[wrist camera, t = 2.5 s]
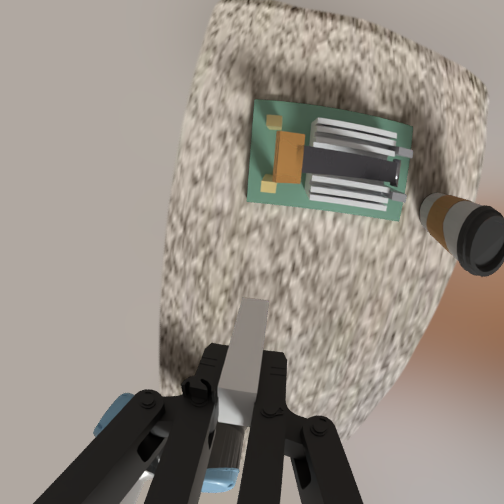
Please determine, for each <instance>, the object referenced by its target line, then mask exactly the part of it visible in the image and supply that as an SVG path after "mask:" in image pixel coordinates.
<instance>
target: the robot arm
mask: <svg viewBox="0 0 504 504" xmlns="http://www.w3.org/2000/svg"><path fill="white" fill-rule="evenodd" d="M268 306H269V300H261V299H254V298H246V297H243V298H242V301H241V305H240V308H239V312H238V316H237V319H236V323H235V326H234V330H233V334H232V337H231V341H230V344H229V346H227V345H221V344H215V343H211V344H210V345H209V346H208V347H207V348H206V349H205V350H204V353H203V356H202V358H201V361H200V364H199V366H198V369H197V372H196V374H195V376H192V377H189V378H187V379H186V380H184V382H183V383H182V384H181V386H182V392H183V394H182V395H179V396H171V397H162V396H161V394H159V393H158V392H157V391H154V390H142V391H139V392H138V393H137V394H135V395H133V394H131V393H124V394H122V395H120V396H119V397H118V398H117V399H116V400H115V401H114V403H113V404H112V405H111V406H110V407H109V409H108V410H107V411H106V413H105V414H104V415H103V417H102V418H101V420H100V422H99V423H98V425H97V426H96V428H95V429H94V432H93V434H94V436H95V437H96V438H95V439H94V440H93V441H92V442H91V443H90V444H89V445H88V446H87V448H85V449H84V451H83V452H82V453H81V454H80V455H79V456H78V457H77V458H76V459H75V460H74V461H73V462H72V463H71V464H70V465H69V466H68V467H67V469H66V470H65V471H64V472H63V473H62V474H61V475H60V476H59V477H58V478H57V479H56V480H55V481H54V483H52V484H51V485H50V486H49V488H48V489H47V490H46V491H45V492H44V493H43V494H42V495H41V496H40V497H39V498H38V499H37V500H36V501H35V502H34V503H33V504H135V503H136V501H137V498H138V496H139V493H140V491H141V489H142V487H143V484H144V482H145V481H147V480H149V479H153V480H152V483H151V485H150V488H149V491H148V494H147V497H146V499H145V502H144V504H198V501H199V497H200V494H201V492H208V493H210V492H211V493H217V492H224V491H228V490H230V489H232V488H233V487H234V485H235V483H236V480H237V476H238V473H239V465H240V459H241V453H242V446H243V440H244V433H245V430H246V429H247V427H250V432H249V438H248V443H247V450H246V456H245V462H244V468H243V473H242V479H241V484H240V491H239V495H238V501H237V504H280V496H281V485H282V473H283V460H284V455H286V456H289V457H290V458H291V462H292V466H293V470H294V474H295V479H296V482H297V487H298V491H299V495H300V499H301V503H302V504H363V502H362V499H361V496H360V493H359V490H358V487H357V485H356V482H355V479H354V476H353V474H352V471H351V468H350V466H349V463H348V460H347V457H346V454H345V452H344V449H343V446H342V444H341V441H340V438H339V435H338V433H337V430H336V427H335V425H334V424H333V422H332V421H331V420H330V419H328V418H327V417H324V416H313V417H310V418H308V419H307V418H304V417H301V416H298V415H296V414H294V413H293V412H291V411H290V410H289V409H288V407H287V405H286V401H285V398H286V375H287V359H286V357H285V355H284V353H283V352H275V351H266V350H263V346H264V338H265V330H266V322H267V314H268Z"/></svg>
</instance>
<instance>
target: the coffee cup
mask: <svg viewBox="0 0 504 504" xmlns="http://www.w3.org/2000/svg"><path fill="white" fill-rule="evenodd" d="M420 220H421V223H422V225H423V227H424V228H425V229H426V230H427V231H428V232H429V233H430V235H431V236H433V237H434V238H435V239H436V240H437V241H438V242H439V243H440V244H441V245H442V246H443V247H444V248H445V249H446V250H447V251H448V252H449V253H450V254H451V255H453V256H454V257H455V258H456V259H457V260H458V261H459V263H460V265H461V266H462V267H463V268H464V269H465V270H466V271H468V272H469V273H471V274H473V275H479V276H482V277H483V276H489V275H491V274H493V273H494V272H496V271H497V270H498V269H499V268H500V267H501V265H502V264H503V262H504V218H503V216H502V215H501V213H499V212H498V211H496V210H495V209H493V208H492V207H491V206H482V205H479V204H476V203H473V202H471V201H469V200H466V199H462V198H459V197H455V196H452V195H446V194H442V193H433V194H431V195H429V196H428V197H427V198H426V199H425V200H424V201H423V203H422V205H421V208H420Z"/></svg>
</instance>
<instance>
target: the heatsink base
mask: <svg viewBox="0 0 504 504" xmlns="http://www.w3.org/2000/svg"><path fill="white" fill-rule="evenodd" d="M277 131H285V132H292V133H299V134H305V143H304V146H311V147H318V148H324V149H331V150H337V151H343V152H348V153H354V154H359V155H364V156H369V157H374V158H378V159H383V160H387V161H392V162H393V159H398V160H401V167H400V174H399V181H398V187H394V186H391V185H390V182H384V181H377V180H369V179H362V178H353V177H344V176H335V175H324V174H313V173H301V182H300V184H294V183H275V182H272V178H273V167H274V156H275V144H276V132H277ZM412 133H413V126H409V125H406V124H403V123H399V122H395V121H391V120H388V119H384V118H380V117H375V116H371V115H367V114H362V113H357V112H352V111H347V110H342V109H336V108H330V107H324V106H317V105H310V104H302V103H294V102H284V101H273V100H259V99H255V100H254V112H253V125H252V138H251V151H250V164H249V177H248V191H247V202H255V203H265V204H274V205H284V206H292V207H301V208H309V209H317V210H325V211H333V212H340V213H347V214H354V215H361V216H367V217H374V218H380V219H386V220H392V221H398V222H399V220H400V215H401V210H402V205H403V202H404V203H405V202H406V197H407V195H406V194H405V188H406V182H407V175H408V168H409V161H410V158H412V157H413V150H411V143H412Z"/></svg>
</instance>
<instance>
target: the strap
mask: <svg viewBox="0 0 504 504" xmlns="http://www.w3.org/2000/svg"><path fill="white" fill-rule="evenodd" d="M304 143H305V134H299V133H292V132H285V131H277V132H276V144H275V156H274V167H273V178H272V182H275V183H294V184H300V182H301V173H313V174H324V175H335V176H344V177H353V178H362V179H369V180H377V181H384V182H390V185H391V186H394V187H398V181H399V174H400V167H401V160H398V159H393V162H392V161H387V160H383V159H378V158H374V157H369V156H364V155H359V154H354V153H348V152H343V151H337V150H331V149H324V148H318V147H311V146H304Z"/></svg>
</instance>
